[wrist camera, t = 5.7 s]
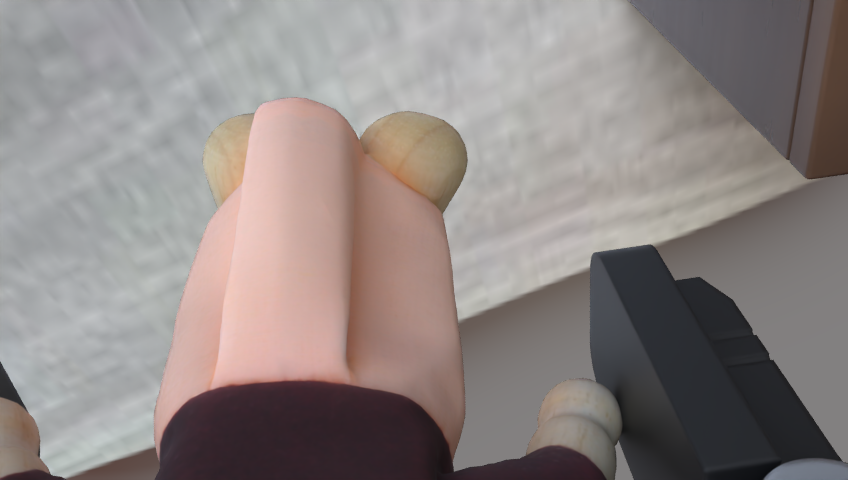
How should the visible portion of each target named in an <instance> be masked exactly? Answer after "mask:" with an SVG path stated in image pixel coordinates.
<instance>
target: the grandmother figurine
mask: <svg viewBox="0 0 848 480" xmlns="http://www.w3.org/2000/svg"><path fill="white" fill-rule="evenodd" d="M203 167H204V171H205V175H206V178H207V181H208V183H209V186H210V189H211V192H212V194H213V197H214V200H215V202H216V205H217V208H218V210H217V211H216V212H215V213H214V215H213V216H212V218H211V219H210V221H209V223H208V225H207V227H206V229H205V231H204V234H203V237H202V239H201V242H200V245H199V247H198V250H197V253H196V255H195V258H194V261H193V264H192V266H191V269H190V272H189V275H188V278H187V281H186V285H185V288H184V291H183V294H182V297H181V301H180V305H179V309H178V312H177V316H176V320H175V327H174V333H173V339H172V343H171V347H170V350H169V354H168V358H167V362H166V365H165V369H164V373H163V377H162V382H161V387H160V391H159V395H158V398H157V402H156V407H155V411H154V441H155V446H156V450H157V455H158V459H159V462H160V469H159V472H158V474H157V476H156V478H155V480H615V473H616V451H615V445H616V444H617V442H618V440H619V438H620V435H621V432H622V427H623V422H622V416H621V411H620V407H619V405H618V402H617V400H616V398H615V396H614V395H613V394H612V392H611V391H610V390H609V389H607V388H606V387H605V386H604V385H602V384H599V383H597V382H595V381H593V380H590V379H584V378H579V379H569V380H565V381H563V382H562V383H559V384H558V385H556V386H555V387H554V388H553V389H552V390H550V391H549V392H548V393H547V395H546V397H545V398H544V400H543V403H542V405H541V408H540V411H539V415H538V429H537V431H536V432H535V434H534V435H533V437H532V439H531V440H530V442H529V444H528V448H527V452H526V456H524V457H522V458H520V459H511V460H504V461H501V462H497V463H494V464H487V465H484V466H477V467H469V468H466V469H462V470H459V471H455V472H454V469H453V458H454V455H455V451H456V449H457V446H458V443H459V439H460V436H461V432H462V428H463V424H464V419H465V387H464V370H463V358H462V346H461V338H460V332H459V326H458V318H457V309H456V302H455V295H454V285H453V272H452V264H451V257H450V250H449V245H448V240H447V235H446V230H445V224H444V219H443V216H442V214H443V212H444V211H445V209H446V207H447V206H448V204H449V202H450V201H451V199H452V197H453V196H454V194H455V193H456V191H457V189H458V188H459V186H460V184H461V182H462V180H463V177H464V175H465V172H466V167H467V152H466V147H465V144H464V142H463V140H462V138H461V136H460V135H459V133H458V132H457V131H456V130H455V129H454V128H453V127H452V126H451V125H449V124H448V123H447V122H445V121H444V120H441V119H439V118H436V117H433V116H430V115H427V114H423V113H417V112H410V111H405V112H397V113H393V114H390V115H388V116H385V117H383V118H381V119H378V120H377V121H375V122H374V123H373V124H372V125H370V126H369V127H368V128H367V129H366V130H365V132H364V133H363V135H362V136H361V138H360V140H359V139H358V137H357V135H356V133H355V132H354V130H353V129H352V127H351V126H350V124H349V122H348V121H347V120H346V119H345V118H344V117H343V116H342V115H341V114H340V113H339V112H338V111H336V110H335V109H333V108H330V107H328V106H326V105H323V104H321V103H318V102H315V101H312V100H309V99H307V98H297V97H294V98H281V99H277V100H273V101H268V102H265V103H263V104H261V105H260V106H259V108H258V109H257V110H256V111H255V114H243V115H238V116H235V117H233V118H230V119H228V120H226V121H225V122H223V123H222V124H220V125H219V126H218V127H217V128H216V129H215V130H214V131H213V132H212V133H211V135H210V136H209V138H208V140H207V141H206V145H205V148H204V153H203ZM39 445H40V436H39V431H38V427H37V425H36V423H35V421H34V419H33V417H32V416H31V415H30V414H29V413H28V412H27V411H26V410H25V409H24V408H23V407H22V406H20V405H19V404H18V403H15V402H13V401H10V400H8V399H5V398H1V397H0V480H66V479H64V478H62V477H58V476H53V475H51V474H50V472H49V469H48V467H47V466H46V465H45V464H44V463H43V461H42V460H41V459H40V458H39V457H38V451H39Z"/></svg>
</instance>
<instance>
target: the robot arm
mask: <svg viewBox="0 0 848 480" xmlns="http://www.w3.org/2000/svg"><path fill="white" fill-rule="evenodd" d="M590 349H591V358H592V364H593V370H594V374H595V378H596V382H597V383H599V384H602V385H604V386H605V387H606V388H607V389H609V390H610V391H611V392H612V394H613V395H614V396H615V398H616V400H617V402H618V405H619V407H620V411H621V416H622V422H623V427H622V432H621V435H620V438H619V442H620V445H621V448H622V450H623V453H624V455H625V458H626V460H627V463H628V465H629V468H630V471H631V473H632V476H633V478H634V480H848V463H846V462H843V461H842V460H841V458H840V457H839V456H838V455H837V453H836V452H835V450H834V449H833V447H832V446H831V445H830V443H829V442H828V440H827V439H826V437H825V436H824V434H823V433H822V431H821V430H820V428H819V427H818V425H817V424H816V422H815V421H814V419H813V418H812V416H811V415H810V414H809V412H808V411H807V409H806V408H805V406H804V405H803V403H802V402H801V400H800V399H799V397H798V396H797V394H796V393H795V391H794V390H793V388H792V387H791V385H790V384H789V382H788V381H787V379H786V378H785V376H784V375H783V374H782V372H781V371H780V369H779V368H778V366H777V365H776V363H775V362H774V360H770V358H769V353H768V351H767V350H766V348H765V347H764V345H763V344H762V343H761V341H760V340H759V338H758V337H757V335H753V332H752V328H751V326H750V325H749V323H748V322H747V320H746V319H745V318H744V316H743V315H742V313H741V311H740V310H739V309H738V307H737V306H736V304H735V303H734V301H733V300H732V299H731V298H729V297H728V296H726V295H725V294H723V293H722V292H721V291H719V290H718V289H716V288H715V287H713V286H712V285H710V284H709V283H707V282H706V281H704V280H703V279H702V278H700V277H696V278H689V279H682V280H676V281H675V280H674V278H673V276H672V275H671V273H670V271H669V270H668V268H667V266H666V265H665V263H664V262H663V260H662V258H661V257H660V255H659V253H658V251H657V250H656V249H655V247H654V246H653V245H643V246H636V247H629V248H622V249H616V250H609V251H602V252H595V253H593V255H592V258H591V264H590ZM0 397H1V398H5V399H8V400H10V401H13V402H15V403H18V404H19V405H20V406H22V407H23V408H24V409H25V410H26V411H27V409H26V407H25V406H24V404H23V402H22V400H21V398H20V397H19V395H18V393H17V391H16V389H15V387H14V386H13V384H12V382H11V380H10V378H9V377H8V375H7V373H6V371H5V369H4V368H3V366H2V364H1V362H0ZM27 412H28V411H27ZM38 457H39V458H40V445H39V451H38Z"/></svg>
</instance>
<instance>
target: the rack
mask: <svg viewBox="0 0 848 480" xmlns="http://www.w3.org/2000/svg"><path fill="white" fill-rule="evenodd" d="M628 1H629V2H630V3H631V4H632V5H633V6H634V7H635V8H636V9H637V10H638V11H639V12H640V13H641V14H642V15H643V16H644V17H645V18H646V19H647V20H648V21H649V22H650V23H651V24H652V25H653V26H654V27H655V28H656V29H657V30H658V31H659V32H660V33H661V34H662V35H663V36H664V37H665V38H666V39H667V40H668V41H669V42H670V43H671V44H672V45H673V46H674V47H675V48H676V49H677V50H678V51H679V52H680V53H681V54H682V55H683V56H684V57H685V58H686V59H687V60H688V61H689V62H690V63H691V64H692V65H693V66H694V67H695V68H696V69H697V70H698V71H699V72H700V73H701V74H702V75H703V76H704V77H705V78H706V79H707V80H708V81H709V82H710V83H711V84H712V85H713V86H714V87H715V88H716V89H717V90H718V91H719V92H720V93H721V94H722V95H723V96H724V97H725V98H726V99H727V100H728V101H729V102H730V103H731V104H732V105H733V106H734V107H735V108H736V109H737V110H738V111H739V112H740V113H741V114H742V115H743V116H744V117H745V118H746V119H747V120H748V121H749V122H750V123H751V124H752V125H753V126H754V127H755V128H756V129H757V130H758V131H759V132H760V133H761V134H762V135H763V136H764V137H765V138H766V139H767V140H768V141H769V142H770V143H771V144H772V145H773V146H774V147H775V148H776V149H777V150H778V151H779V152H780V153H781V154H782V155H783V156H784V157H785V158H786V159H787V160H790V163H791V164H792V165H793V166H794V167H795V168H796V169H797V170H798V171H799V172H800V173H801V174H802V175H803V176H804V177H805V178H807V179H816V178H823V177H830V176H837V175H844V174H848V0H628Z"/></svg>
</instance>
